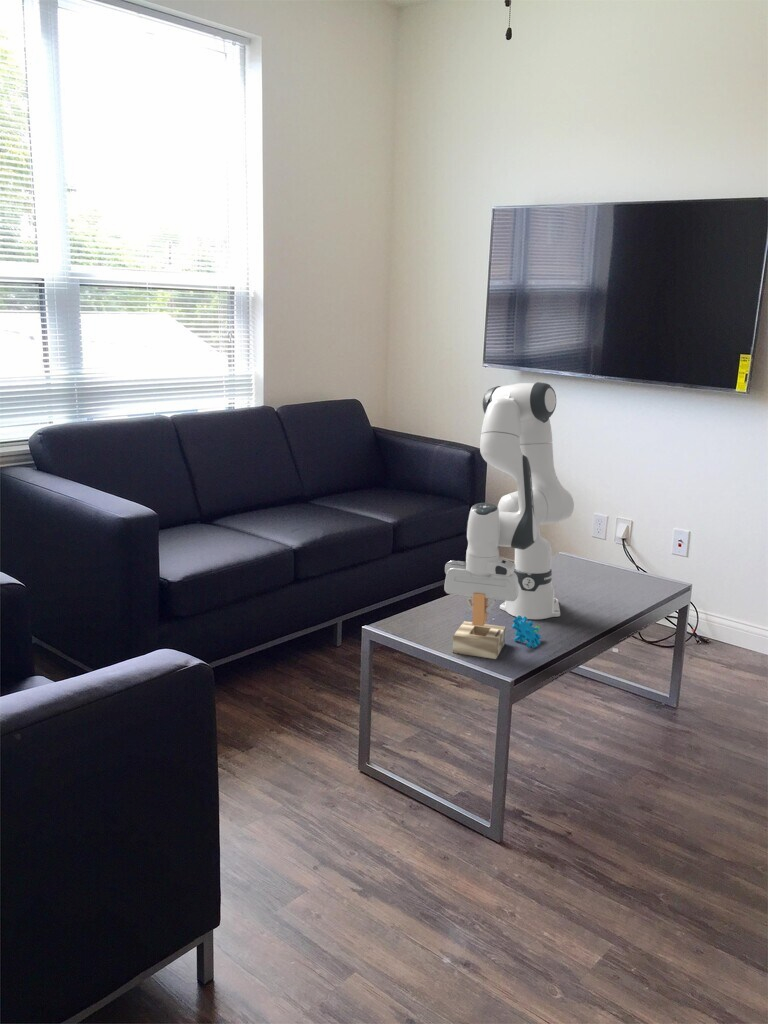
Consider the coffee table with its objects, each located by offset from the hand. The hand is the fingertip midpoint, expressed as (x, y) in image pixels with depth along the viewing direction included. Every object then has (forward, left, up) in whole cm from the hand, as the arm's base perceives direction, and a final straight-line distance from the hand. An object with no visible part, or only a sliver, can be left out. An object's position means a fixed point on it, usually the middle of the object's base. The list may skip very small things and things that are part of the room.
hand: (480, 612), depth 238 cm
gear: (-8, +12, -11) cm, 18 cm away
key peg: (0, 0, -3) cm, 3 cm away
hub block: (0, 0, -11) cm, 11 cm away
